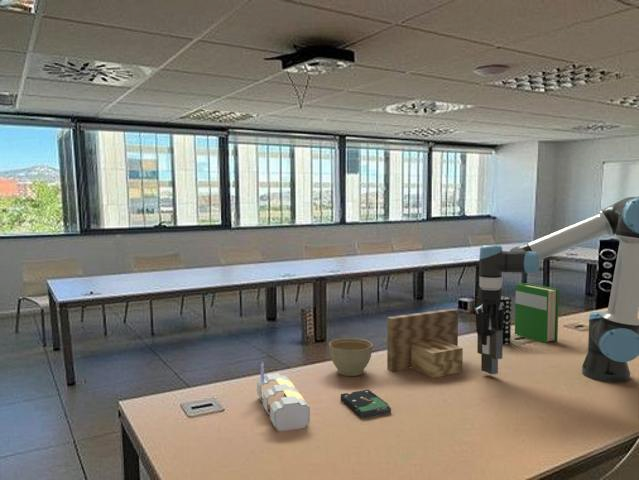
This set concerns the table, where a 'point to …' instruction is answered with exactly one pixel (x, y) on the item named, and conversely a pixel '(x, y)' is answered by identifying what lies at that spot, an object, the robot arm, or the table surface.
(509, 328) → the spotted tube
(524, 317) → the hardback book
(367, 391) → the disk drive
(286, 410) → the white yellow segmented bar
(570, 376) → the table surface
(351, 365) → the planter bowl
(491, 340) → the grey slab
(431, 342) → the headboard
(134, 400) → the table surface
